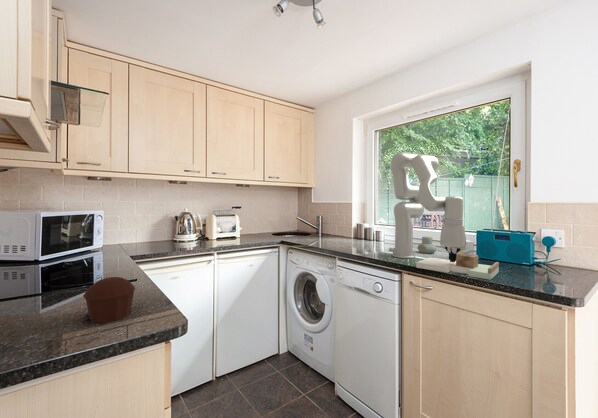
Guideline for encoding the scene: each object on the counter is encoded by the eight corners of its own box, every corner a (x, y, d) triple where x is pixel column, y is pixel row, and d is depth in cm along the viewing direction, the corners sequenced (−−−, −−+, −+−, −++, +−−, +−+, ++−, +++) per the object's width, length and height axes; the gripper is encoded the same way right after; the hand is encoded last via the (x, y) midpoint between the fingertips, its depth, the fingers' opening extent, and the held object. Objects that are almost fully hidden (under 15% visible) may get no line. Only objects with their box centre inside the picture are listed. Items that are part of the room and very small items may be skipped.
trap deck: (416, 267, 135) (416, 258, 134) (429, 261, 148) (429, 253, 147) (490, 279, 114) (490, 268, 114) (498, 272, 127) (498, 262, 127)
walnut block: (455, 265, 127) (456, 255, 127) (460, 263, 132) (461, 253, 132) (473, 268, 122) (473, 257, 122) (478, 266, 127) (478, 255, 127)
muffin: (108, 307, 81) (108, 272, 81) (144, 308, 80) (144, 273, 80) (71, 324, 69) (70, 284, 69) (113, 327, 68) (112, 286, 68)
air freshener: (439, 254, 171) (439, 237, 171) (428, 254, 168) (429, 238, 168) (425, 251, 182) (425, 235, 181) (415, 251, 179) (415, 236, 178)
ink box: (473, 264, 143) (474, 241, 143) (455, 263, 145) (456, 241, 145) (467, 260, 152) (467, 239, 151) (450, 260, 153) (450, 238, 153)
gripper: (433, 222, 134) (433, 260, 134) (469, 224, 123) (468, 265, 124) (439, 221, 139) (438, 258, 140) (473, 223, 129) (472, 262, 129)
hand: (452, 261), depth 132 cm, fingers closed
